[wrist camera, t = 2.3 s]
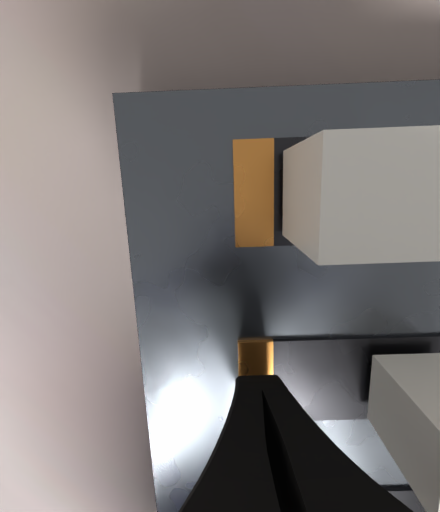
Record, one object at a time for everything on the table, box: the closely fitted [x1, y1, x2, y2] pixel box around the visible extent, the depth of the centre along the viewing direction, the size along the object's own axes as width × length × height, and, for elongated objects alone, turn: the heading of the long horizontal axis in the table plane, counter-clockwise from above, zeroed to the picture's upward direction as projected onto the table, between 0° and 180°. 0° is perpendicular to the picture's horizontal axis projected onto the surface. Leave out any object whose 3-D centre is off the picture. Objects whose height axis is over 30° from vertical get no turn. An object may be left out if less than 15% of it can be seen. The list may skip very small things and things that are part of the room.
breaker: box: [282, 125, 440, 265], centre depth 7 cm, size 2×2×4 cm
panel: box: [112, 80, 440, 512], centre depth 12 cm, size 19×19×3 cm
